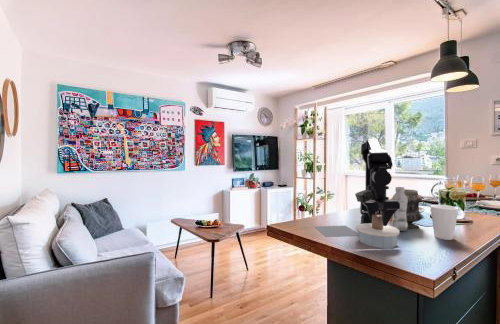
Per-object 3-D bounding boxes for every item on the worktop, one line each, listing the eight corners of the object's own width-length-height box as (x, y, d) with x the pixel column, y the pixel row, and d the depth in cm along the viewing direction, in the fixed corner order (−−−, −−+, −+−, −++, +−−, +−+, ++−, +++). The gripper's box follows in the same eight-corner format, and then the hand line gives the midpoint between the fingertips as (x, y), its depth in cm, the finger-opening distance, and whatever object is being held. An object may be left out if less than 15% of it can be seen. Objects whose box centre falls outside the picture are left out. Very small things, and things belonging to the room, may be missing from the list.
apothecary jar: (405, 222, 132) (405, 188, 132) (428, 228, 121) (428, 190, 121) (387, 224, 129) (387, 189, 128) (409, 231, 117) (409, 192, 117)
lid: (384, 225, 109) (384, 211, 109) (408, 236, 94) (408, 219, 94) (350, 226, 108) (350, 211, 108) (369, 237, 93) (369, 220, 93)
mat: (345, 226, 125) (345, 225, 125) (362, 237, 109) (362, 235, 109) (313, 227, 124) (313, 226, 124) (325, 238, 108) (325, 236, 108)
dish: (383, 237, 108) (383, 226, 108) (404, 248, 95) (404, 235, 95) (353, 238, 107) (353, 226, 107) (370, 249, 94) (370, 236, 94)
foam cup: (450, 242, 102) (450, 210, 102) (425, 236, 110) (425, 206, 110) (462, 238, 106) (462, 207, 106) (437, 232, 114) (438, 204, 114)
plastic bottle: (405, 229, 120) (406, 186, 120) (409, 233, 114) (409, 188, 114) (390, 228, 123) (390, 186, 122) (393, 231, 116) (393, 188, 116)
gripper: (347, 181, 109) (347, 217, 109) (371, 186, 91) (370, 230, 91) (372, 180, 110) (372, 217, 110) (401, 185, 91) (400, 229, 92)
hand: (377, 222), depth 101 cm, fingers open, 9 cm apart
